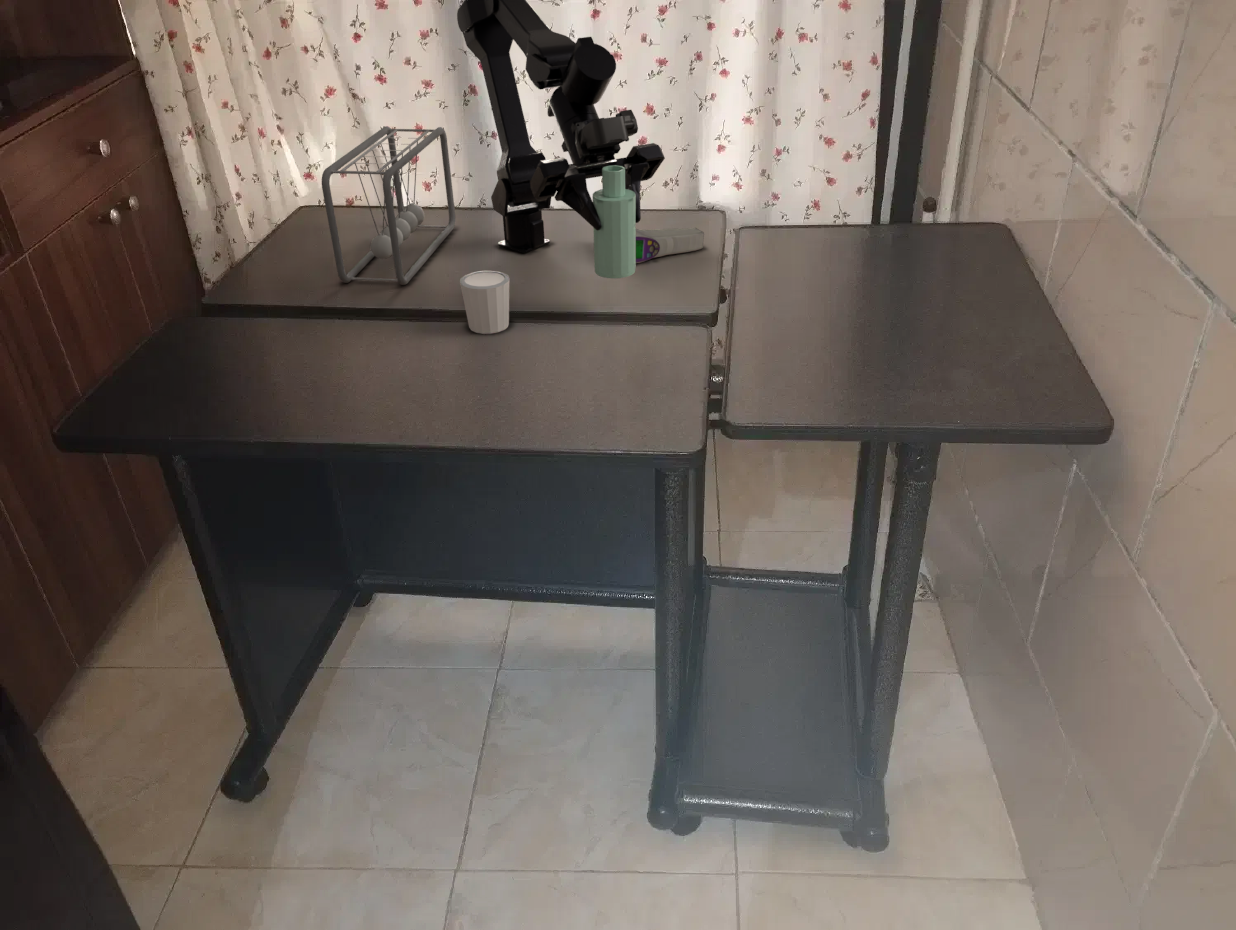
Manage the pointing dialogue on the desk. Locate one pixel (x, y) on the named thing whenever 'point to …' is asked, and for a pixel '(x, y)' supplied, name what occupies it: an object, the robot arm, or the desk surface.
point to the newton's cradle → (390, 203)
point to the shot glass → (486, 301)
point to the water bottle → (615, 226)
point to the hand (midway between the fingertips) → (618, 225)
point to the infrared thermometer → (666, 242)
